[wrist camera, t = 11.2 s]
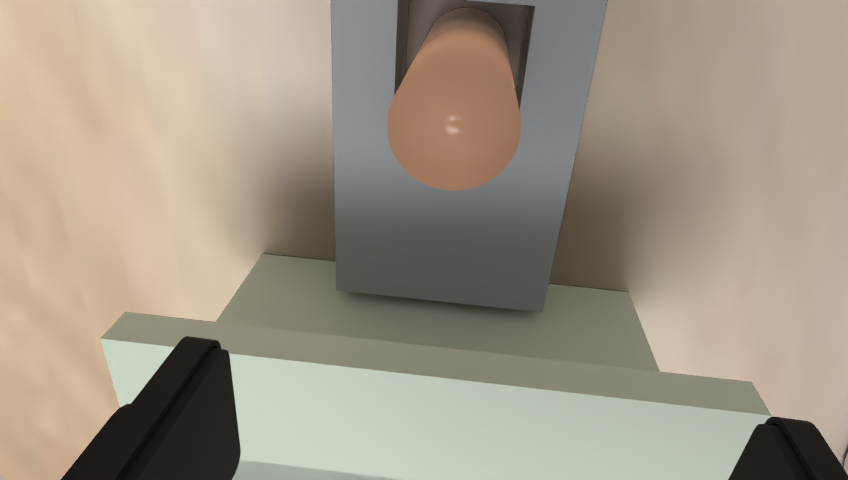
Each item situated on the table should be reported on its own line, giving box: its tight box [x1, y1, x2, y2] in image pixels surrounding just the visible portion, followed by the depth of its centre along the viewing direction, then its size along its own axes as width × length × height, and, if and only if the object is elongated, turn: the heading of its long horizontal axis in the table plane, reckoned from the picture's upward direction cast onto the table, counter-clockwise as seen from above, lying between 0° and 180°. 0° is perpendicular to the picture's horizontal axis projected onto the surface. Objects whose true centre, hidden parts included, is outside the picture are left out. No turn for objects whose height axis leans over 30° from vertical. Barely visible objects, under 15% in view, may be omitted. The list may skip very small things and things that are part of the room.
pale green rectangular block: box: [100, 254, 771, 480], centre depth 26 cm, size 22×7×14 cm, turn 87°
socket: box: [331, 0, 608, 312], centre depth 27 cm, size 11×18×4 cm, turn 177°
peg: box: [387, 8, 521, 191], centre depth 22 cm, size 4×4×12 cm
